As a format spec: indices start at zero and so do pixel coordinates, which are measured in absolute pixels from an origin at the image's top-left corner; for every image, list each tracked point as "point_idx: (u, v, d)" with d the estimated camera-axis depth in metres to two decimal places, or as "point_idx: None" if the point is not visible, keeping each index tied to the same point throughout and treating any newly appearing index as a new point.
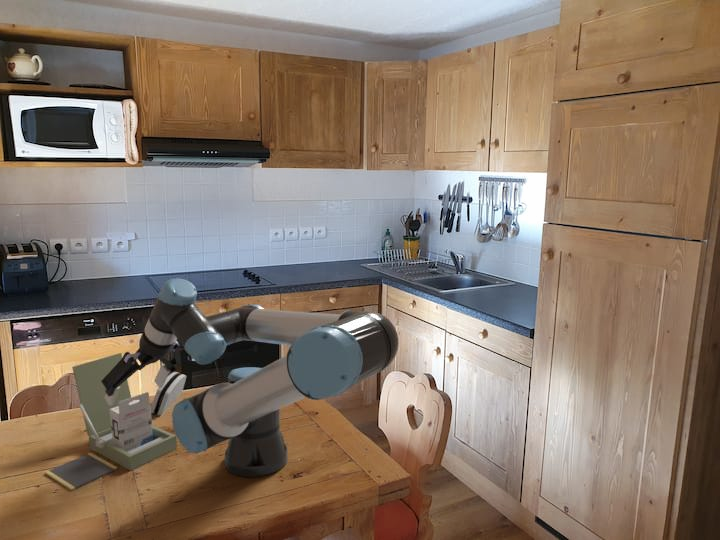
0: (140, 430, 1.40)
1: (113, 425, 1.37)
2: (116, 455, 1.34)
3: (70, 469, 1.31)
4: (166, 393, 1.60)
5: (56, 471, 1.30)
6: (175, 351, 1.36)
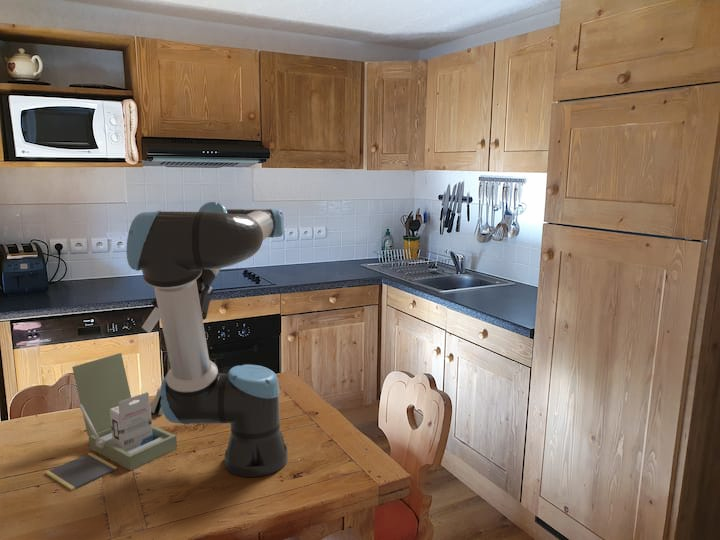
0: (140, 430, 1.40)
1: (113, 425, 1.37)
2: (116, 455, 1.34)
3: (70, 469, 1.31)
4: None
5: (56, 471, 1.30)
6: (203, 290, 1.47)
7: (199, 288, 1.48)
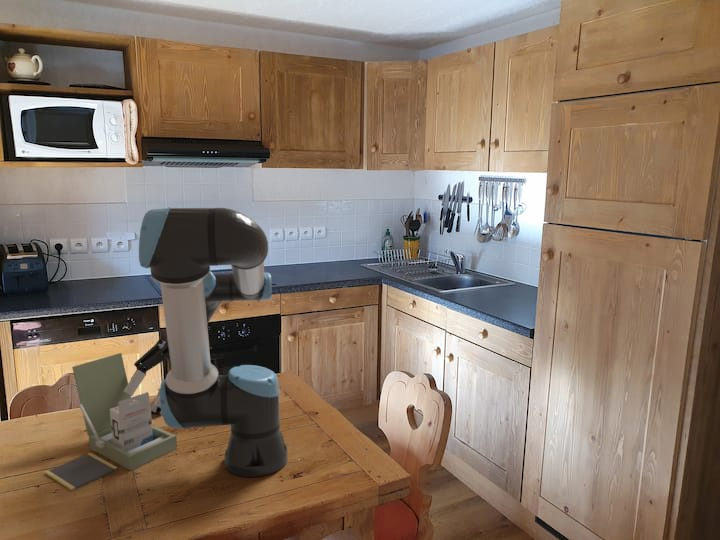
0: (140, 430, 1.40)
1: (113, 425, 1.37)
2: (116, 455, 1.34)
3: (70, 469, 1.31)
4: None
5: (56, 471, 1.30)
6: None
7: None
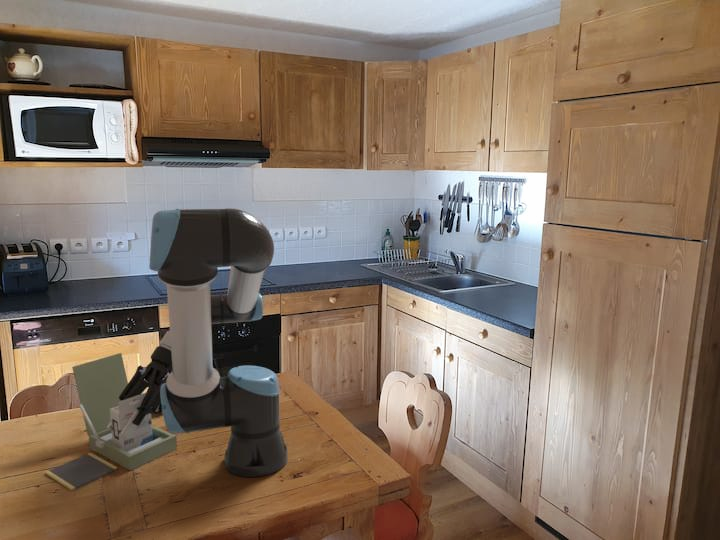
0: (140, 430, 1.40)
1: (113, 425, 1.37)
2: (116, 455, 1.34)
3: (70, 469, 1.31)
4: None
5: (56, 471, 1.30)
6: (162, 381, 1.40)
7: (163, 374, 1.42)
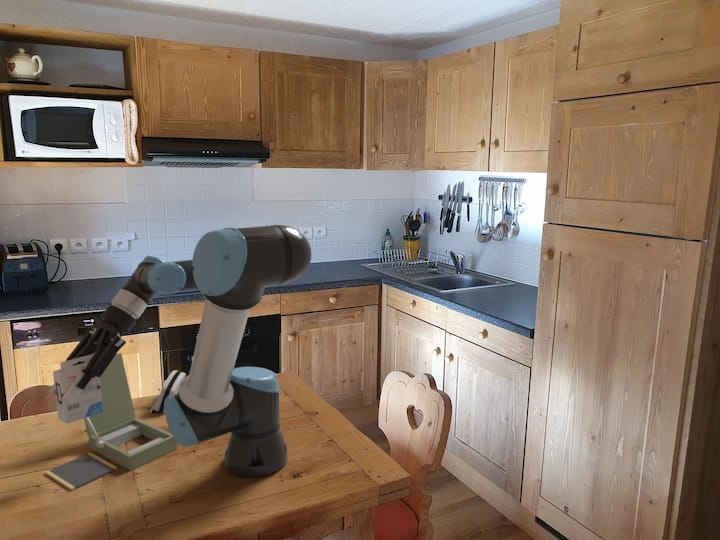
0: (86, 395, 1.28)
1: (57, 388, 1.26)
2: (116, 455, 1.34)
3: (70, 469, 1.31)
4: (171, 391, 1.62)
5: (56, 471, 1.30)
6: (111, 342, 1.28)
7: (113, 335, 1.30)
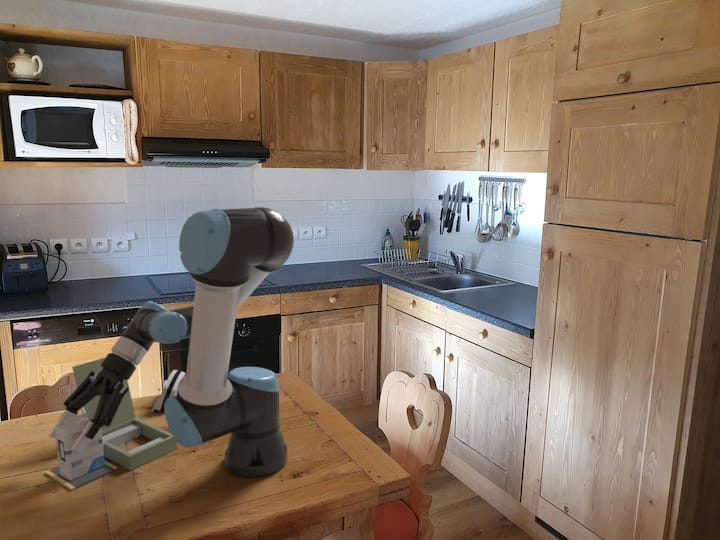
0: (89, 450, 1.29)
1: (59, 446, 1.26)
2: (116, 455, 1.34)
3: None
4: (173, 390, 1.62)
5: (56, 471, 1.30)
6: (114, 389, 1.29)
7: (114, 384, 1.31)
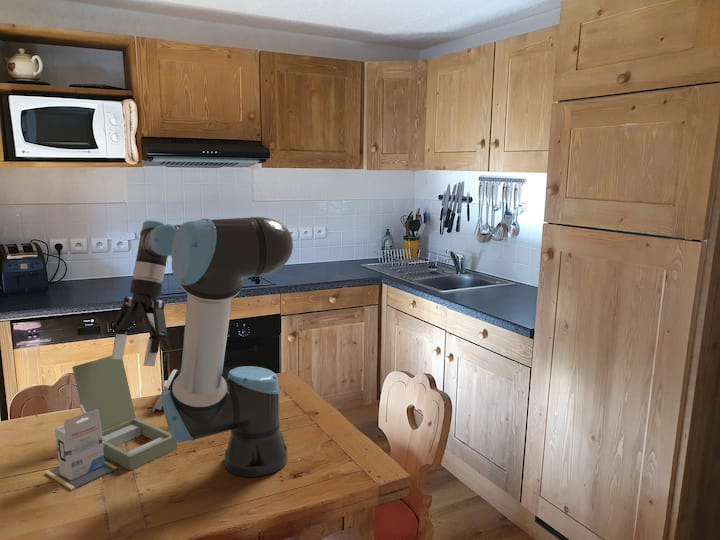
0: (89, 451, 1.29)
1: (59, 446, 1.26)
2: (116, 455, 1.34)
3: None
4: None
5: (56, 471, 1.30)
6: (153, 308, 1.39)
7: (149, 305, 1.40)
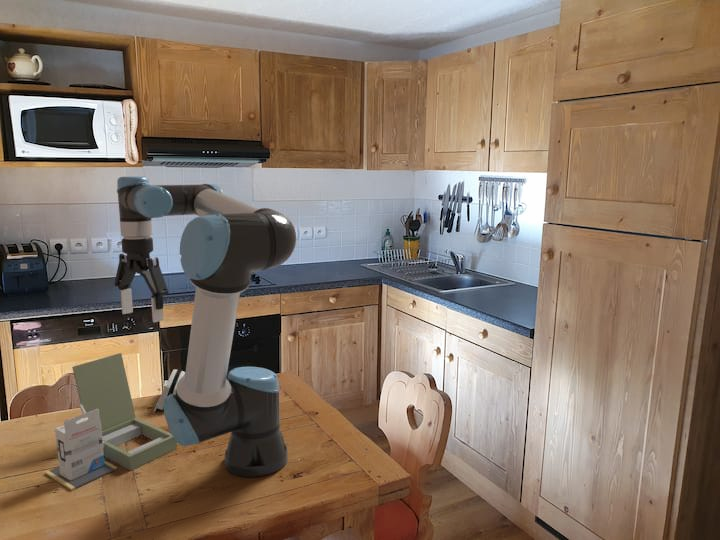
0: (89, 451, 1.29)
1: (59, 446, 1.26)
2: (116, 455, 1.34)
3: None
4: (175, 389, 1.63)
5: (56, 471, 1.30)
6: (148, 266, 1.39)
7: (144, 263, 1.41)
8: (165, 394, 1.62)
